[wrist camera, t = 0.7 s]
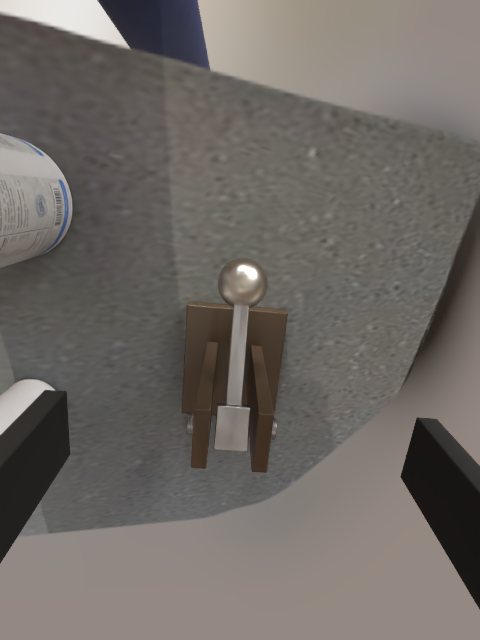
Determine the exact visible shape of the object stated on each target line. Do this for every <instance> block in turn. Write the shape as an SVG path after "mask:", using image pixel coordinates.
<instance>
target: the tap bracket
mask: <svg viewBox="0 0 480 640" xmlns="http://www.w3.org/2000/svg"><path fill="white" fill-rule="evenodd" d="M232 315H233V306H231V305H222V304H211V303H199V302H189V303H188V305H187V319H186V339H185V359H184V379H183V399H182V413H189V414H188V420H187V434H193V439H192V456H191V468H203V469H205V468H206V464H207V454H208V445H209V435H210V426H211V417H212V415H217V404H218V403H225V402H226V390H227V377H228V365H229V352H230V340H231V327H232ZM287 315H288V314H287V311H286V310H282V309H270V308H258V307H250V308H249V314H248V327H247V341H246V354H245V368H244V382H243V395H242V404H243V405H248V406H249V407H250V423H249V437H250V453H251V469H252V472H265V473H266V472H267V465H268V458H269V451H270V443H271V439H272V440H275V438H276V433H277V421H276V419H275V418H274V410H275V403H276V395H277V388H278V381H279V373H280V366H281V359H282V351H283V344H284V337H285V329H286V322H287Z"/></svg>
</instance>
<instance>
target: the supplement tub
mask: <svg viewBox="0 0 480 640" xmlns="http://www.w3.org/2000/svg"><path fill="white" fill-rule="evenodd" d="M71 218H72V198H71V193H70V189H69V186H68V184H67V181H66V179H65V177H64V175H63V174H62V172H61V170H60V169H59V168H58V166H57V165H56V164H55V163H54V161H53V160H52V159H51V158H50V157H49V156H48V155H46V154H45V153H44V152H43V151H41V150H40V149H38V148H37V147H35V146H34V145H32V144H30V143H28V142H26V141H24V140H22V139H19V138H16V137H12V136H9V135H5V134H1V133H0V268H3V267H5V266H9V265H12V264H15V263H18V262H21V261H24V260H27V259H30V258H33V257H36V256H39V255H42V254H44V253H47V252H48V251H50V250H51V249H53V248H54V247H55V246H57V245H58V244H59V243H60V242H61V240H62V239H63V238H64V236H65V234H66V233H67V231H68V228H69V226H70V223H71Z"/></svg>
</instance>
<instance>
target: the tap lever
mask: <svg viewBox="0 0 480 640" xmlns="http://www.w3.org/2000/svg"><path fill="white" fill-rule="evenodd" d="M267 286H268V281H267V276H266V274H265V271H264V270H263V268H262V267H261V266H260V265H259V264H257V263H256V262H254V261H252V260H249V259H236V260H233V261H231V262H229V263H228V264H227V265H226V266H225V267H224V268H223V269H222V271H221V272H220V275H219V278H218V289H219V293H220V295H221V297H222V298H223V300H224V301H225V302H226V303H228V304H229V305H231V306H233V315H232V327H231V340H230V352H229V365H228V377H227V390H226V402H225V403H218V404H217V416H216V428H215V440H214V449H215V450H230V451H245V452H247V451H248V438H249V423H250V407H249V406H248V405H243V404H242V395H243V382H244V368H245V354H246V341H247V327H248V314H249V308H250V307H253V306H255V305H256V304H258V303H259V302H260V301H261V300H262V299H263V297H264V296H265V294H266V291H267Z"/></svg>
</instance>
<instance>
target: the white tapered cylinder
mask: <svg viewBox="0 0 480 640" xmlns="http://www.w3.org/2000/svg"><path fill="white" fill-rule="evenodd" d="M44 390H54V391H56V390H55V389H54V388H53V387H52V386H50V385H49V384H47V383H45V382H43V381H40V380H36V379H25V380H21V381H18V382H16V383H15V384H13V385H12V386H10V387H9V388H8V389H7V390H5V391H4V392H3V393H2V394H0V435H1V434H2V433H3V432H4V431H5V430H6V429H7V428H8V427H9V426H10V425H11V424H12V423H13V422H14V421H15V420H16V419H17V418H18V417H19V416H20V415H21V414H22V413H23V412H24V411H25V410H26V409H27V408H28V407H29V406H30V405H31V404H32V403H33V402H34V401H35V400H36V399H37V398H38V397H39V395H40V394H41V393H42V392H43V391H44Z"/></svg>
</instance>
